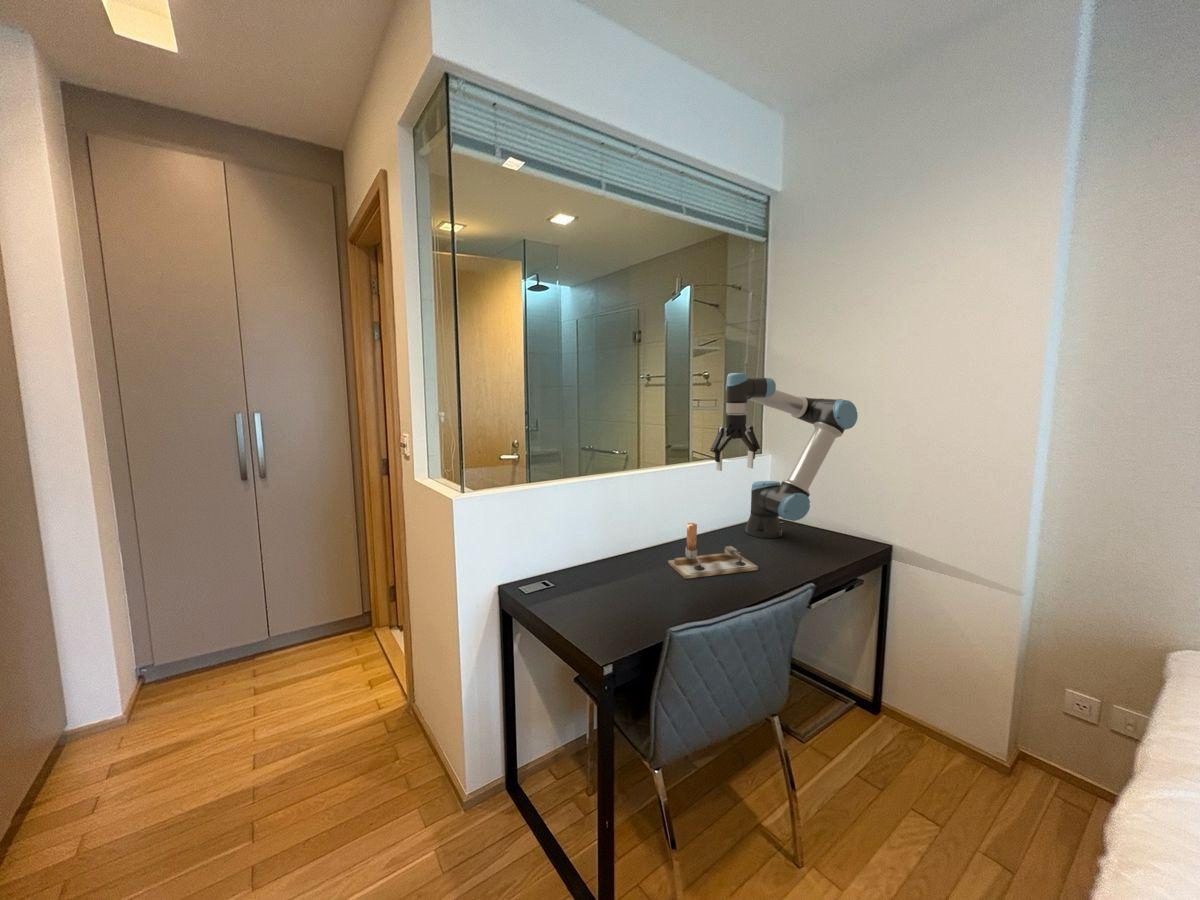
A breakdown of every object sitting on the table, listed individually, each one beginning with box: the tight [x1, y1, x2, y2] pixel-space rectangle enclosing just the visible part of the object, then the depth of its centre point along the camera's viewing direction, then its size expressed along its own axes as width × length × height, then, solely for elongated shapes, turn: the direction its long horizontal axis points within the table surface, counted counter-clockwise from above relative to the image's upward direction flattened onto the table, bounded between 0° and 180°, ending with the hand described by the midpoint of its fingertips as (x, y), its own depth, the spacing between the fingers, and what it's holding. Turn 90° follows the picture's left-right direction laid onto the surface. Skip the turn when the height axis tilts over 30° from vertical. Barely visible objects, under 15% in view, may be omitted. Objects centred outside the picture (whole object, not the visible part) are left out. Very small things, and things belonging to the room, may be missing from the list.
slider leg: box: [684, 522, 701, 568], centre depth 168 cm, size 3×9×13 cm, turn 16°
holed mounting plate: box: [667, 545, 759, 580], centre depth 170 cm, size 28×14×5 cm, turn 106°
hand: (734, 469), depth 184 cm, fingers open, 13 cm apart
